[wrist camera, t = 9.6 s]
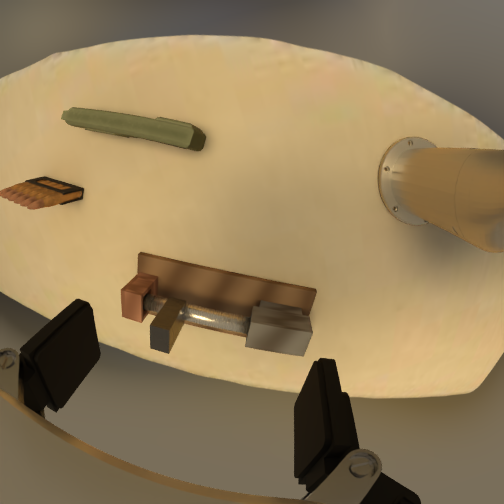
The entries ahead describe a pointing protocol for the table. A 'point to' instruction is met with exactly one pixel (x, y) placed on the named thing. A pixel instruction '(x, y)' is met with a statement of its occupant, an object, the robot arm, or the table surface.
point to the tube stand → (227, 301)
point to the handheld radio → (137, 127)
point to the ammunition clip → (42, 193)
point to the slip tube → (178, 312)
